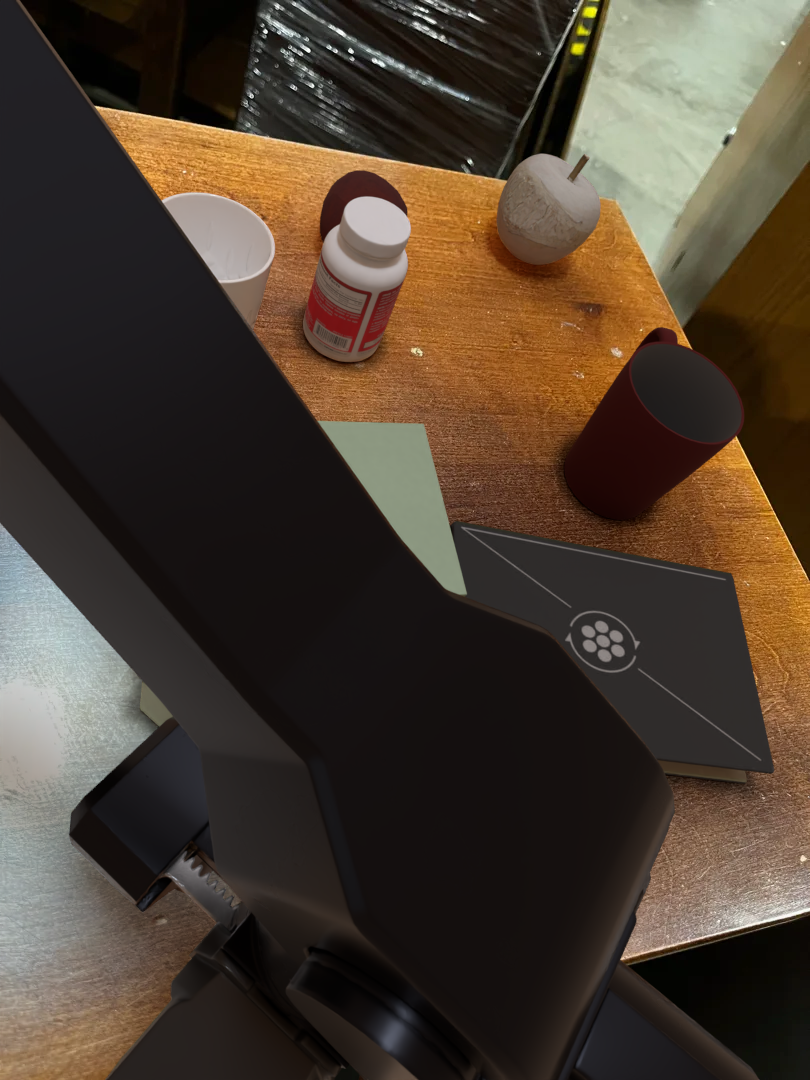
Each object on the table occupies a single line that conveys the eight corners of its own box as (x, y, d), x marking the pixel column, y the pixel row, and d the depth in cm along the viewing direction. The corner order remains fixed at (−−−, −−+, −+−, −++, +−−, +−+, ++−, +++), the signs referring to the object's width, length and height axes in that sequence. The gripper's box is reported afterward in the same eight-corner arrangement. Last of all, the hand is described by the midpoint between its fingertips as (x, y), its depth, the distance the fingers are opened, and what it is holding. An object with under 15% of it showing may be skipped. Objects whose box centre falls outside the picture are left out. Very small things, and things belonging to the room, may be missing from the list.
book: (707, 587, 62) (732, 569, 59) (745, 784, 54) (775, 773, 51) (438, 538, 56) (453, 516, 54) (438, 748, 49) (455, 734, 46)
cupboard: (406, 667, 51) (467, 594, 42) (145, 690, 45) (153, 611, 36) (375, 516, 56) (424, 423, 47) (136, 520, 50) (141, 415, 41)
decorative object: (470, 255, 73) (516, 158, 65) (496, 205, 78) (541, 109, 70) (557, 300, 73) (613, 210, 65) (577, 247, 78) (631, 157, 70)
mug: (549, 395, 67) (618, 297, 58) (644, 419, 69) (724, 327, 60) (558, 516, 61) (636, 427, 52) (662, 538, 63) (755, 456, 54)
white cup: (236, 403, 57) (257, 299, 49) (124, 367, 55) (126, 253, 47) (264, 326, 61) (287, 219, 53) (160, 291, 60) (168, 175, 51)
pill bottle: (368, 307, 66) (410, 192, 56) (386, 366, 63) (432, 255, 54) (294, 304, 63) (324, 183, 54) (308, 364, 61) (343, 249, 51)
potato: (415, 251, 71) (438, 193, 66) (363, 295, 66) (384, 237, 61) (347, 203, 71) (365, 142, 66) (292, 244, 66) (306, 182, 62)
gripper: (-122, 926, 20) (-32, 963, 33) (439, 1516, 18) (303, 1311, 31) (203, 638, 26) (173, 763, 39) (649, 1051, 24) (464, 1040, 37)
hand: (270, 954), depth 36 cm, fingers open, 9 cm apart
